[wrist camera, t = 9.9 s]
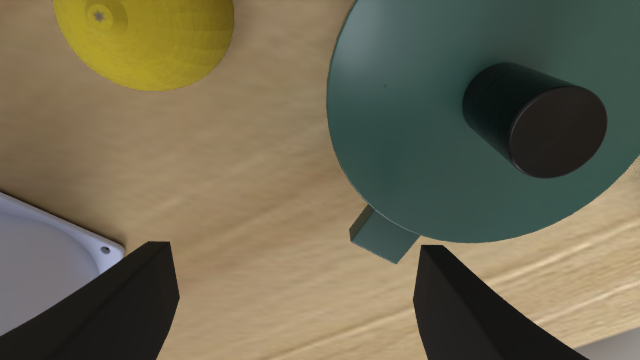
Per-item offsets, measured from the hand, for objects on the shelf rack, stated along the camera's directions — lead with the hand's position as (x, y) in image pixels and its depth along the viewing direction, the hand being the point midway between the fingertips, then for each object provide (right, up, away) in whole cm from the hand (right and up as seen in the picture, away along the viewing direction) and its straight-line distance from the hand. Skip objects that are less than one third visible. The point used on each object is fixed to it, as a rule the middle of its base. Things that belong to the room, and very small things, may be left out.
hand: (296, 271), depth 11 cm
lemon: (-5, +11, +7) cm, 14 cm away
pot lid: (+6, +6, +2) cm, 9 cm away
